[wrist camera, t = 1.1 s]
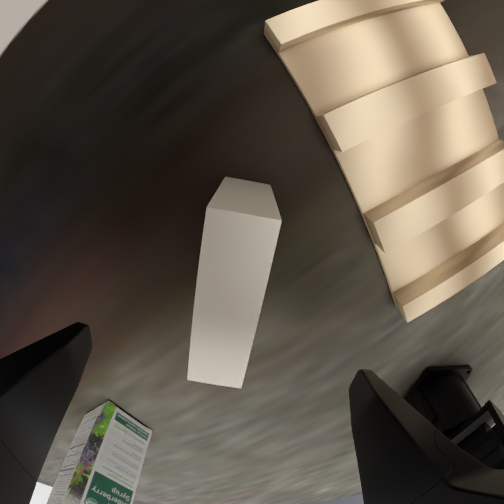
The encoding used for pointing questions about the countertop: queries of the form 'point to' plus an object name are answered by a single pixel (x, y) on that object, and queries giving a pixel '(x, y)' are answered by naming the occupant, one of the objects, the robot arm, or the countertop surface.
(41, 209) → the countertop surface
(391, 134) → the slotted rack
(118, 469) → the syrup box
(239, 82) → the countertop surface
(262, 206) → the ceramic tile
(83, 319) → the countertop surface
